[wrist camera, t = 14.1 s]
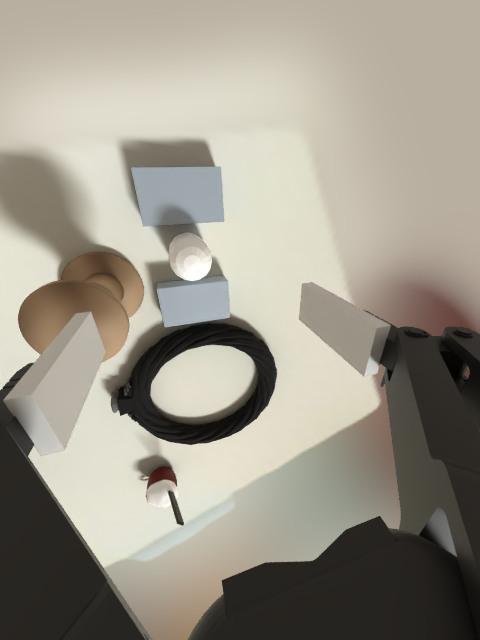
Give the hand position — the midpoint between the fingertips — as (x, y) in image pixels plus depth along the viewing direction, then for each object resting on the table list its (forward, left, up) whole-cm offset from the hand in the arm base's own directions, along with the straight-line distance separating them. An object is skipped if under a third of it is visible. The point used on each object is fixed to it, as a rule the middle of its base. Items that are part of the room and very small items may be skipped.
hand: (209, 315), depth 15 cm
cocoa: (-12, -48, -22) cm, 54 cm away
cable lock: (-1, -25, -22) cm, 34 cm away
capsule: (0, 0, -22) cm, 22 cm away
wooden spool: (-12, -4, -22) cm, 25 cm away
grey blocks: (0, 0, -22) cm, 22 cm away
